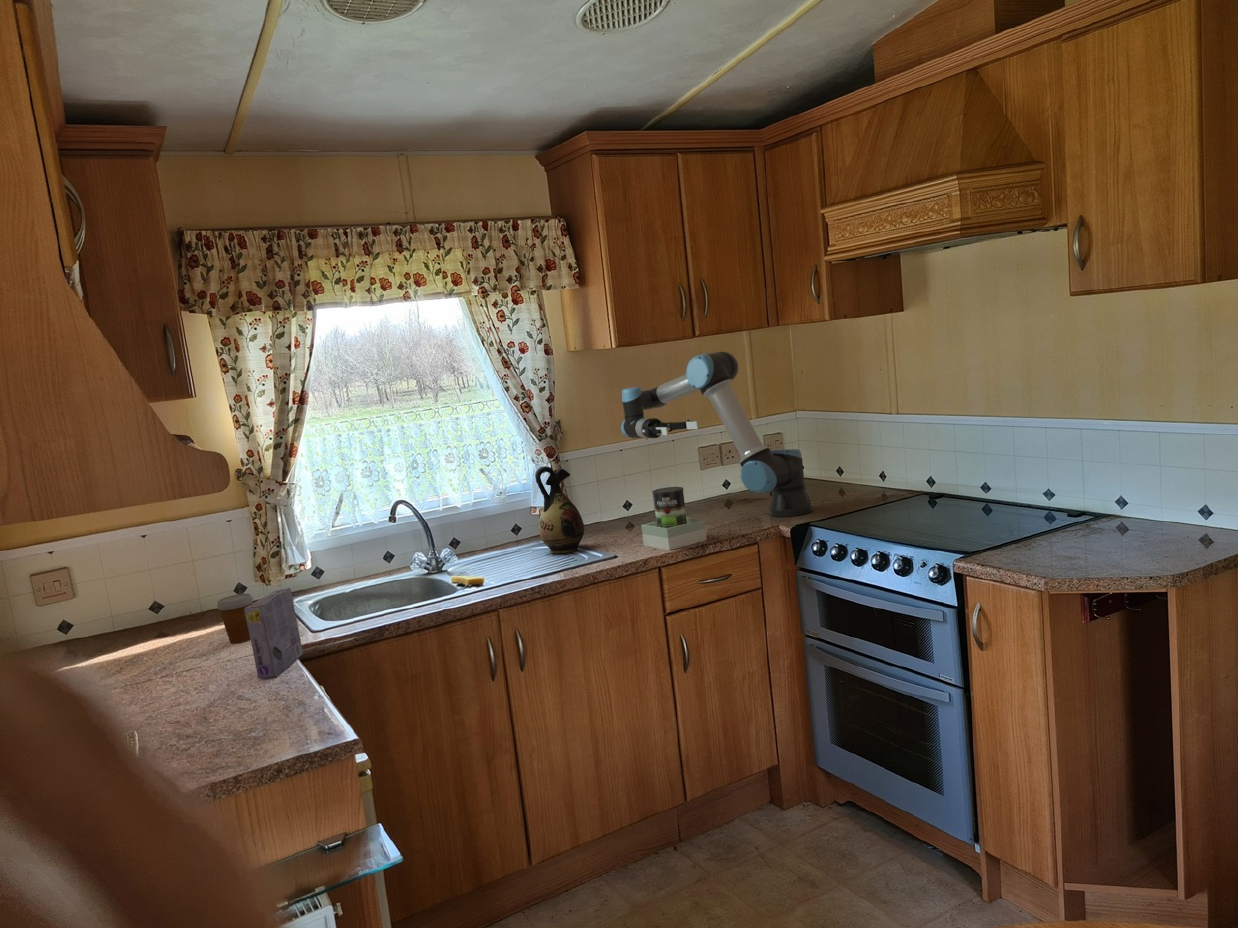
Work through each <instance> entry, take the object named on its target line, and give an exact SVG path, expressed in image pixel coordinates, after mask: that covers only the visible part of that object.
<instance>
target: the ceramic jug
mask: <svg viewBox="0 0 1238 928" xmlns="http://www.w3.org/2000/svg"><path fill="white" fill-rule="evenodd" d="M544 473H549V476H548V477H547V479H546V481H545V482H544V483H545V485H546V486H550V490H549V492H548V491H547V490H546V488H545V485H544V484H543V481H542V479H541V476H542V474H544ZM534 476H535V478H534V479H535V482H536V484H537V486H538V489H539V490H540V492H541V494H542V496H543V507H542V510H541V513H540V517H539V521H538V522H539V523H538V532H539V533H538V534H539V537H540V539H541V541H542V543H543V544H544V545H546V547H547V548H548V549H549V550H550V553H551V554H566V553H572V552H577V551H578V550H579V549H578V548H579V545H580V544H581V542H582V539H583V538H584V533H585V524H584V521H583V518H582V514H580V511H579V510H578V508H577V506H576V505H575V504H574V503H573V502H572V500H570V498H569V497H568V496H567V495H566V494H565V493H564V492H563V490H562V489H561V488H562V487H561V486H560V485H561V483H562V482H563V481H565V480H567V479H568V478H569V477H571V473H569V472H568V471H567V470H566V469H564V468H563V467H561V468H557V469H556V470H554V469H553V468H552V467H550V466H546V465H545V466H544V465H543V466H540V467H539V468H537V470H536V472H535V475H534Z"/></svg>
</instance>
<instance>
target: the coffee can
mask: <svg viewBox="0 0 1238 928" xmlns="http://www.w3.org/2000/svg"><path fill="white" fill-rule="evenodd" d="M651 493H652V497H653V498H652V499H653V505H654V507H653V508H654V513H655V520H656V521H655V522H657V527H662V528H671V527H675V526H679V525H683V524H687V519H686V517H687V513H686V503H685V502H686V501H685V494H684V487H683V486H669V487H668V486H667V487H661V488H657V489H654V490H652V491H651Z"/></svg>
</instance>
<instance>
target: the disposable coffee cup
mask: <svg viewBox="0 0 1238 928" xmlns="http://www.w3.org/2000/svg"><path fill="white" fill-rule="evenodd" d="M253 603H254V598H253V596H252V594H250V593H238V594H232V595H228V596H225V597H222V598H220V599H218V600H217V604H216V608H217V609H218V611H219V612H220V616H221V619H222V622H223V625H224V628H225V632H226V634H227V637H228V640H229V643H230V644H240V643H245V642H248V641H251V640H250V635H249V630H248V626H247V621H246V616H245V611H244V608H246V607H248V606H250V605H251V604H253Z"/></svg>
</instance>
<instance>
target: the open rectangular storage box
mask: <svg viewBox="0 0 1238 928" xmlns="http://www.w3.org/2000/svg"><path fill="white" fill-rule="evenodd" d="M686 519H687V524H683V525H679V526H675V527H671V528H662V527H657V522H656V521H652V522H648V523H644V524H641V525H640V527H641V534H642V541H643V542H642V543H643V546H645V547H651V548H654V549H655V548H656V549H661V550H666V551H673V550H675V549H679V548H683V547H687V546H691V545H693V544H694V545H695V544H698V542H699V543H702V542H705V540H706V541H707V535H706V534H707V533H706V524H705V519H702V518H694V517H688V516H686Z"/></svg>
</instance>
